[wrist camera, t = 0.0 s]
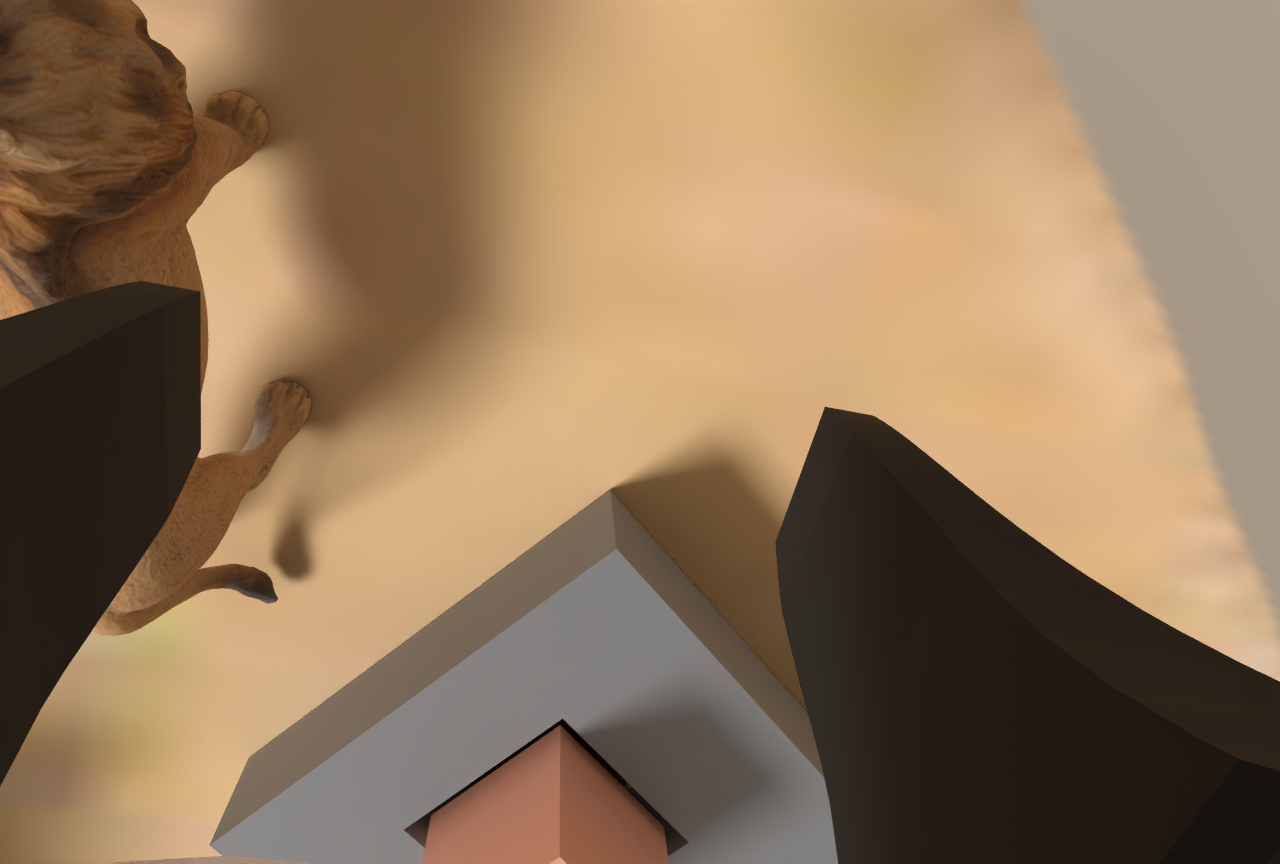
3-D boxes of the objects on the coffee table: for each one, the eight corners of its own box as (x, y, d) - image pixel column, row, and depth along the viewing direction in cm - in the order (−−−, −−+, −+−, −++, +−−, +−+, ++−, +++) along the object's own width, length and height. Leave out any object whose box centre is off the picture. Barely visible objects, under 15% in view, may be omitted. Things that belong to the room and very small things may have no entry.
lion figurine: (-61, -68, 18) (-590, -172, 10) (223, -105, 18) (-64, -241, 10) (175, 604, 24) (-37, 905, 15) (394, 571, 24) (301, 853, 15)
